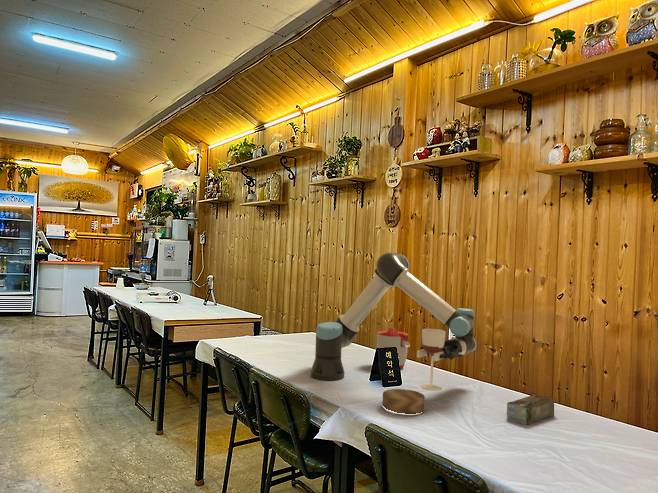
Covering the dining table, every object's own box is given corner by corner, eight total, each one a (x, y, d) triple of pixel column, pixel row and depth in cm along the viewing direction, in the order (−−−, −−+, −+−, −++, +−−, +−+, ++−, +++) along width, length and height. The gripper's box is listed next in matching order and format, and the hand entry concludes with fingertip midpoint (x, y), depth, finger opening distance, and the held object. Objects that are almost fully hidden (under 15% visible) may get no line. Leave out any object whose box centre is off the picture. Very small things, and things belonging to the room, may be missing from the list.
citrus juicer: (398, 374, 227) (399, 331, 228) (368, 367, 239) (370, 326, 239) (416, 369, 239) (417, 328, 239) (387, 362, 251) (388, 323, 251)
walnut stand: (389, 416, 168) (389, 401, 168) (377, 402, 183) (377, 389, 183) (430, 415, 170) (431, 401, 170) (415, 402, 185) (416, 388, 185)
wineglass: (446, 387, 189) (448, 330, 190) (437, 392, 181) (440, 333, 181) (424, 383, 194) (427, 327, 194) (415, 388, 186) (418, 330, 186)
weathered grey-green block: (505, 419, 170) (505, 400, 170) (534, 410, 182) (535, 392, 182) (526, 426, 164) (527, 406, 164) (555, 416, 176) (555, 397, 176)
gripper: (475, 361, 195) (449, 370, 178) (432, 353, 208) (403, 360, 190) (476, 342, 195) (450, 350, 178) (433, 335, 208) (404, 341, 190)
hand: (426, 355), depth 184 cm, fingers closed on wineglass, 6 cm apart
